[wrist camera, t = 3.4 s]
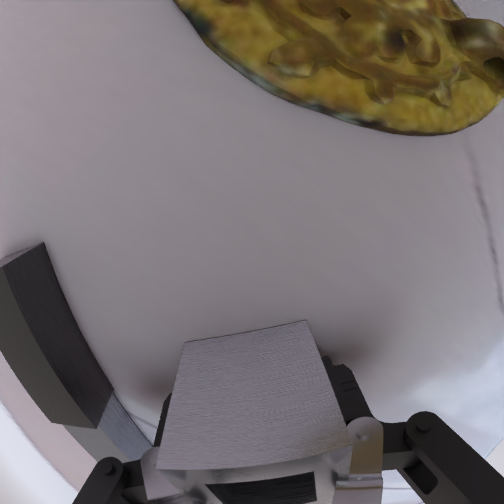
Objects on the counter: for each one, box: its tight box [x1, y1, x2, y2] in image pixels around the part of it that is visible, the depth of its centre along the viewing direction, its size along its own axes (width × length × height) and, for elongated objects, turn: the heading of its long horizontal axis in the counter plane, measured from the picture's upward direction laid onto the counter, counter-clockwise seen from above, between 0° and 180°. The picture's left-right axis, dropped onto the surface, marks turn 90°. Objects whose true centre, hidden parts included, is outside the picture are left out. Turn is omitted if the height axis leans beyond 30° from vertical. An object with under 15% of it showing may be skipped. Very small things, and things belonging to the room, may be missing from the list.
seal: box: [174, 0, 504, 136], centre depth 6 cm, size 9×5×15 cm
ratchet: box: [0, 242, 153, 463], centre depth 10 cm, size 22×6×6 cm, turn 12°
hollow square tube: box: [156, 320, 353, 504], centre depth 9 cm, size 5×5×6 cm
